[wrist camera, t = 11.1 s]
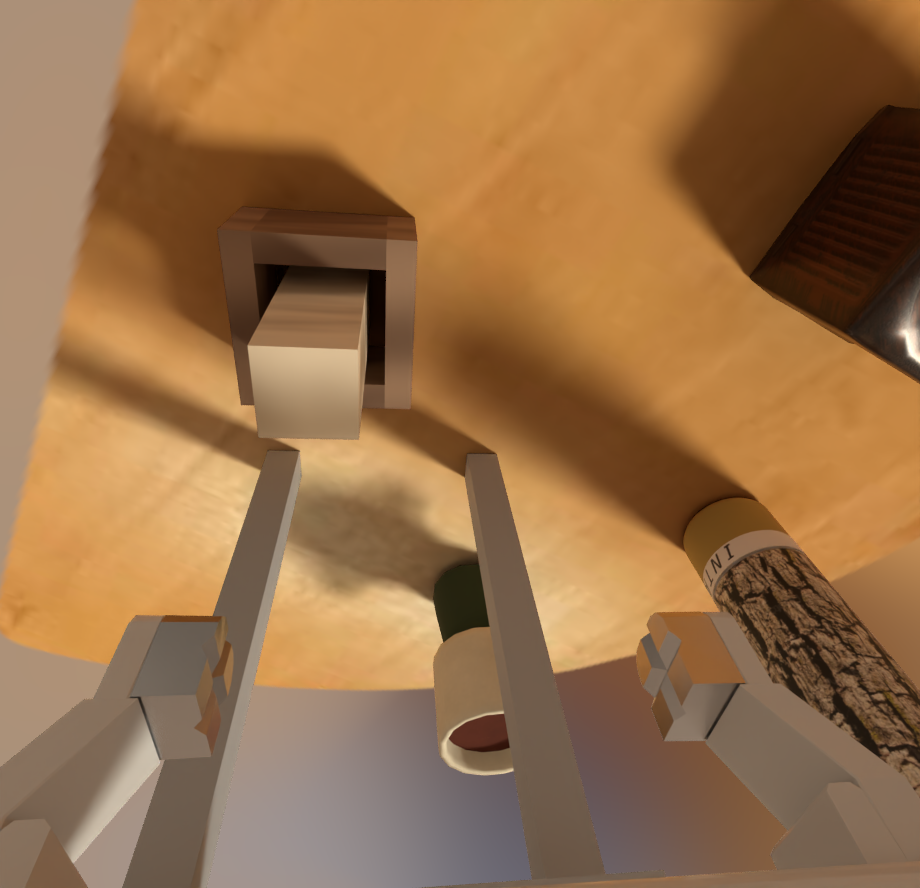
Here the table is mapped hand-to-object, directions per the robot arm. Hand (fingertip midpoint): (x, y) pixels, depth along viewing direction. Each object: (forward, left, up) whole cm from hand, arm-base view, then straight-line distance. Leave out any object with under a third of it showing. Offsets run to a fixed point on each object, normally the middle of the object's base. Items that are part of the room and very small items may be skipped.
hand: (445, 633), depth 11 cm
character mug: (+25, +6, -25) cm, 36 cm away
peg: (+2, -4, -25) cm, 26 cm away
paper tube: (+19, +25, -25) cm, 40 cm away
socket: (+2, -4, -25) cm, 26 cm away
